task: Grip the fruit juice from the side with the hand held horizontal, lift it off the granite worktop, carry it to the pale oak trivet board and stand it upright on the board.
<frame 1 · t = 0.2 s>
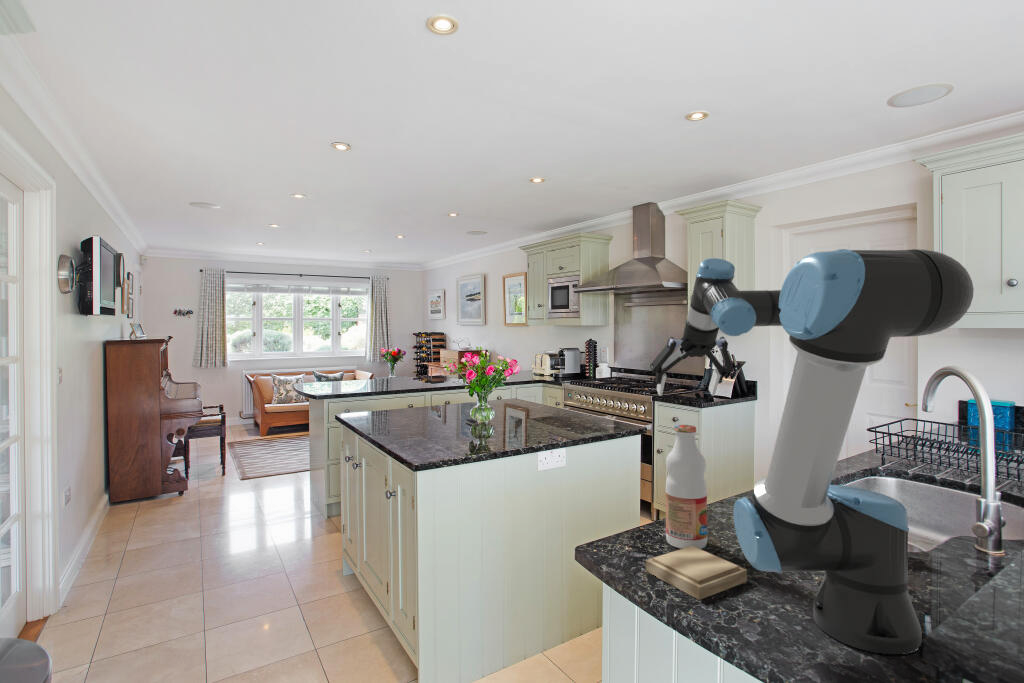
hand: (685, 392, 135), 35 cm above the counter, tool tilted 35°, fingers open, 13 cm apart
trivet: (695, 576, 108), on the counter
fruit juice: (686, 543, 125), on the counter
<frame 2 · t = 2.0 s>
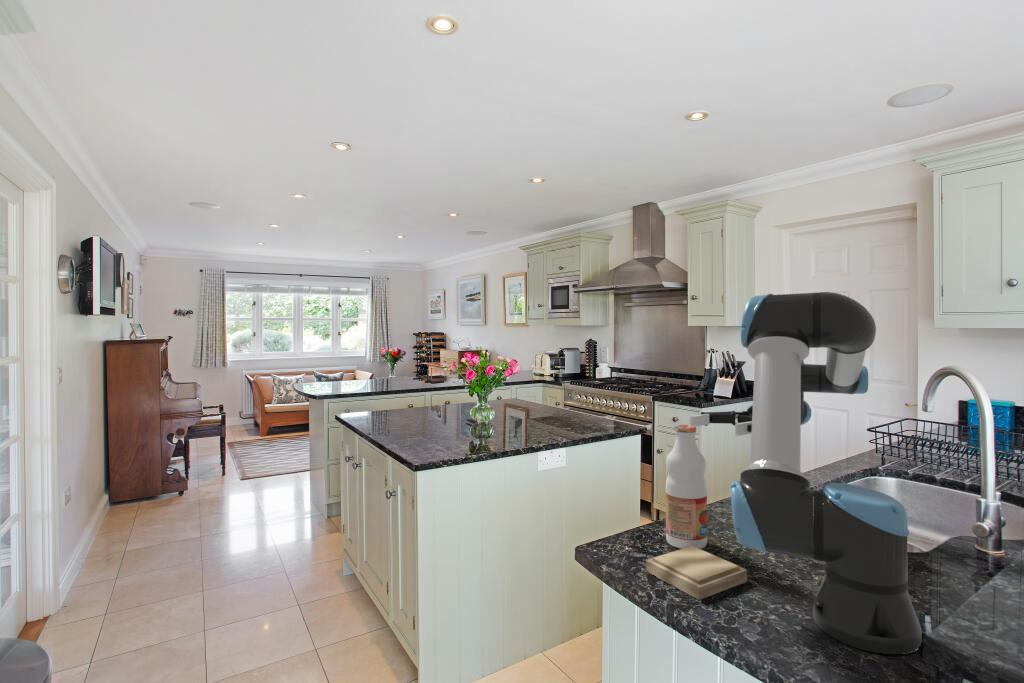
hand: (712, 425, 130), 27 cm above the counter, tool horizontal, fingers open, 13 cm apart
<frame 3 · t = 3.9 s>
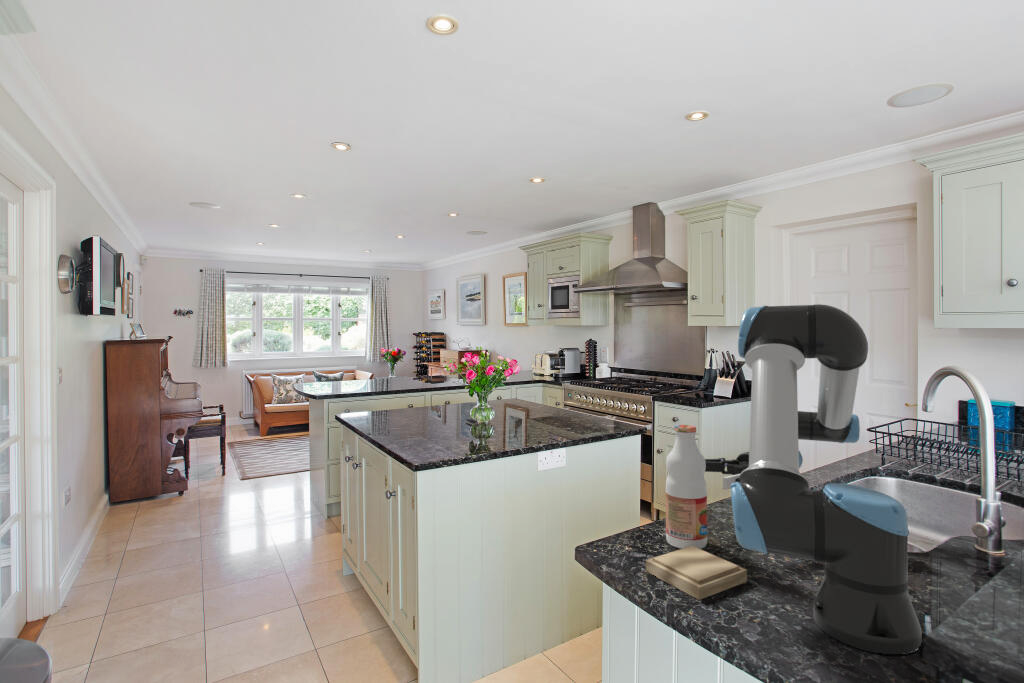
hand: (701, 476, 128), 15 cm above the counter, tool horizontal, fingers open, 13 cm apart
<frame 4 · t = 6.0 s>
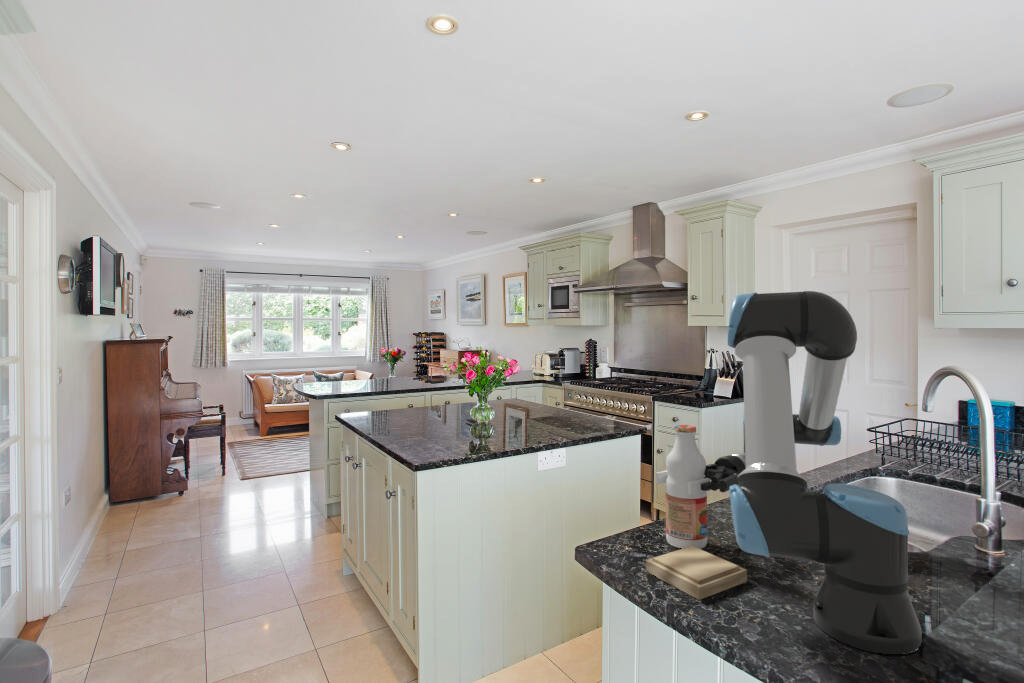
hand: (672, 483, 123), 15 cm above the counter, tool horizontal, fingers closed on fruit juice, 9 cm apart
fruit juice: (686, 543, 125), on the counter, touching gripper
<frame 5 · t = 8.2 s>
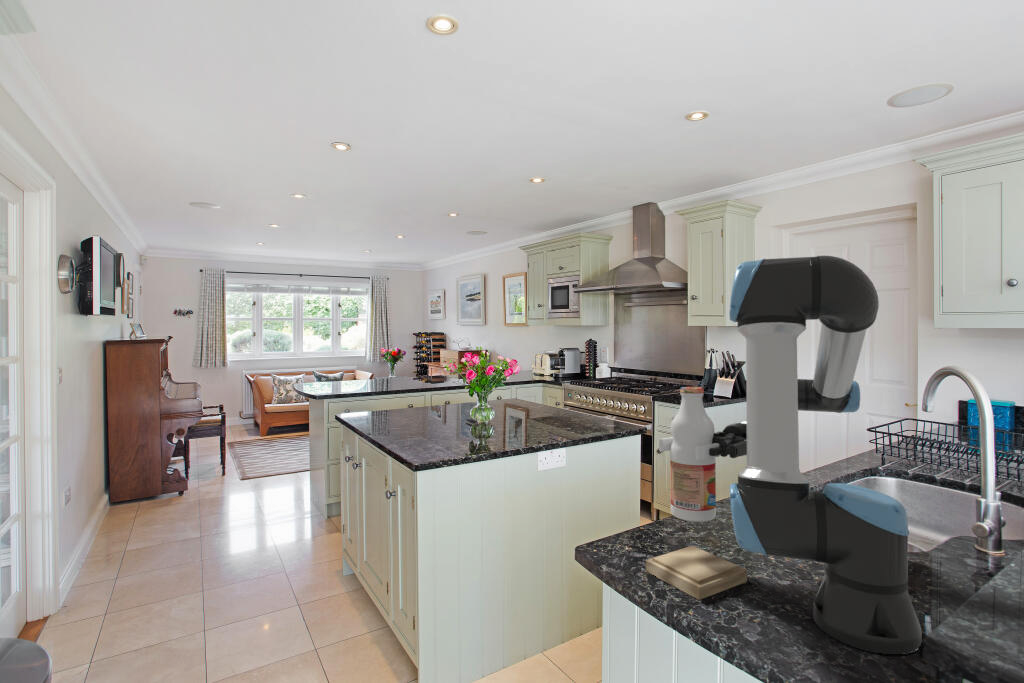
hand: (677, 449, 112), 25 cm above the counter, tool horizontal, fingers closed on fruit juice, 9 cm apart
fruit juice: (692, 516, 115), point 10 cm above the counter, touching gripper
when the fingers open (20 cm above the counter, at t = 10.5 s): fruit juice drops 1 cm, resting on trivet.
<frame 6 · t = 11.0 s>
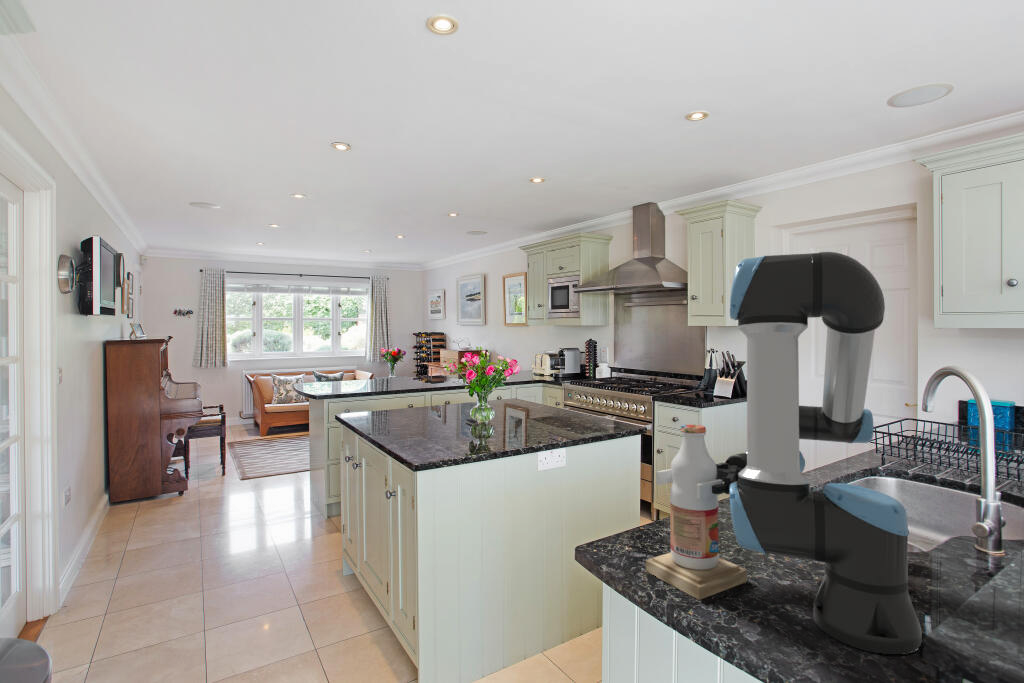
hand: (676, 484, 107), 19 cm above the counter, tool horizontal, fingers open, 10 cm apart
fruit juice: (694, 562, 109), point 3 cm above the counter, touching trivet
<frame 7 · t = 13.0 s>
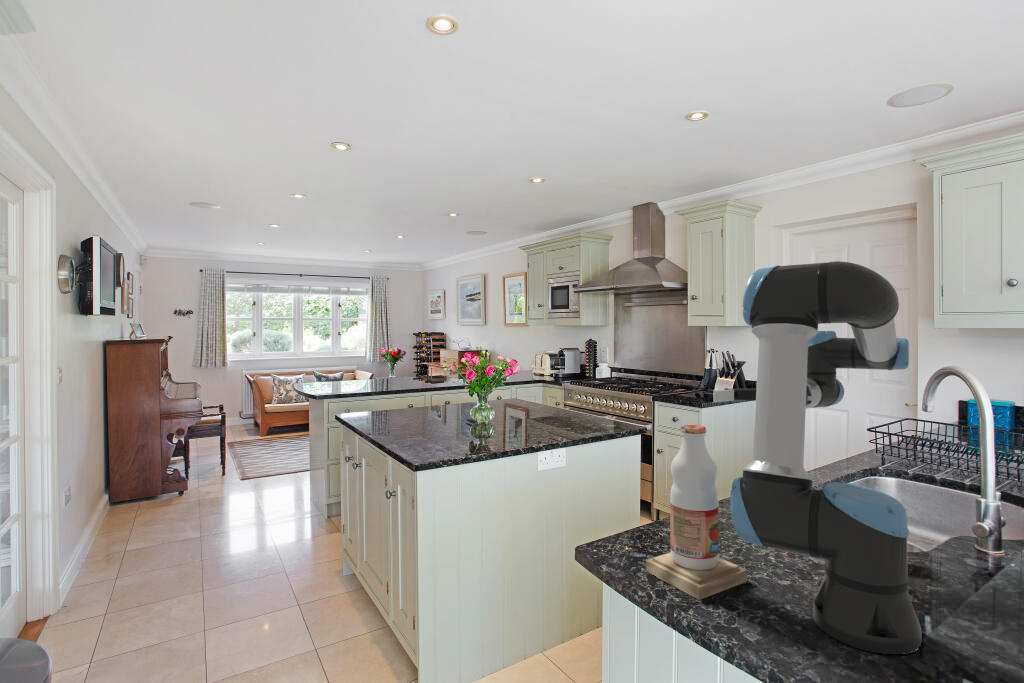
hand: (739, 399, 118), 35 cm above the counter, tool horizontal, fingers open, 13 cm apart
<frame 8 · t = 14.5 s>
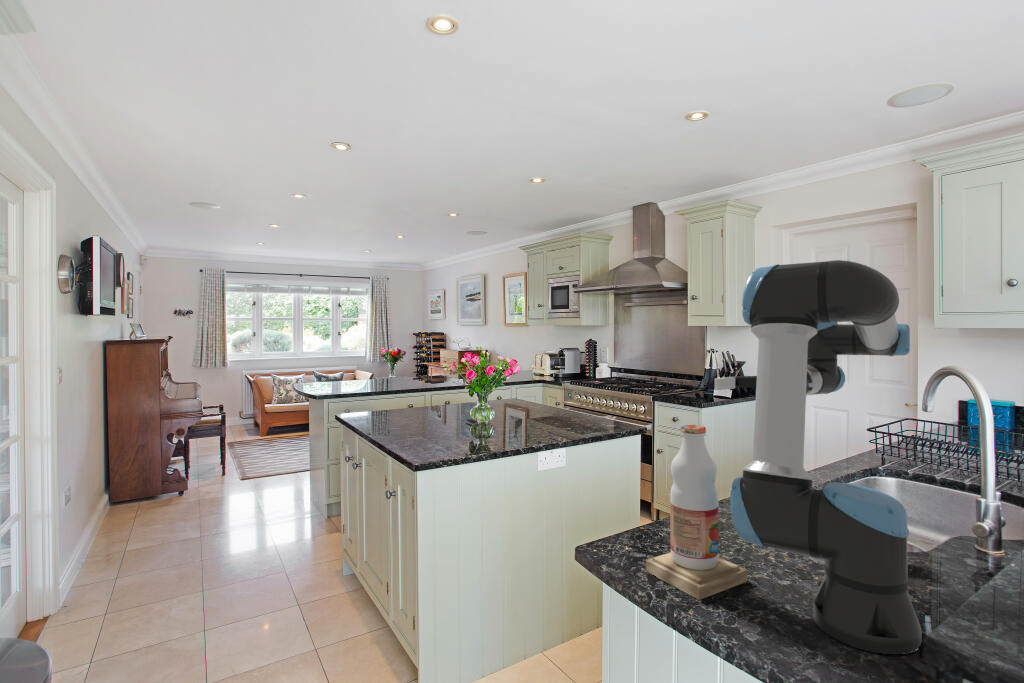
hand: (740, 386, 118), 38 cm above the counter, tool horizontal, fingers open, 13 cm apart
at the end: fruit juice inside the target area on the trivet (0.4 cm from its centre), point 2.8 cm above the trivet's base; fruit juice tilted 0°; the gripper is holding nothing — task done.
